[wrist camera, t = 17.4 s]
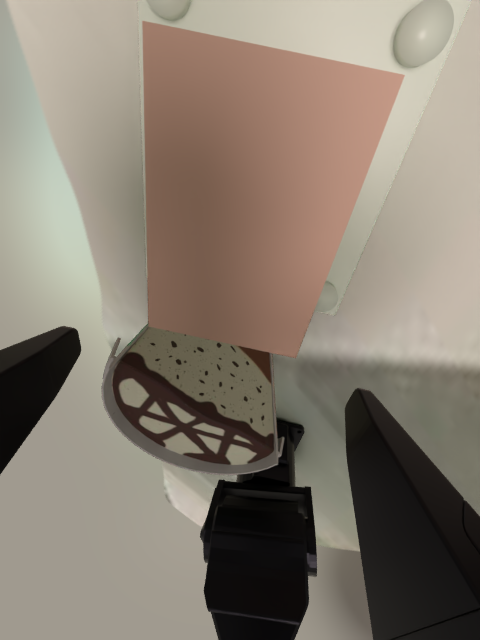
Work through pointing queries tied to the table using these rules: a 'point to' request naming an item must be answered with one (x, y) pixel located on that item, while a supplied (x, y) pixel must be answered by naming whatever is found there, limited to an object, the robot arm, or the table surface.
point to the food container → (194, 402)
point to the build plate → (345, 46)
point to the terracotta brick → (250, 181)
